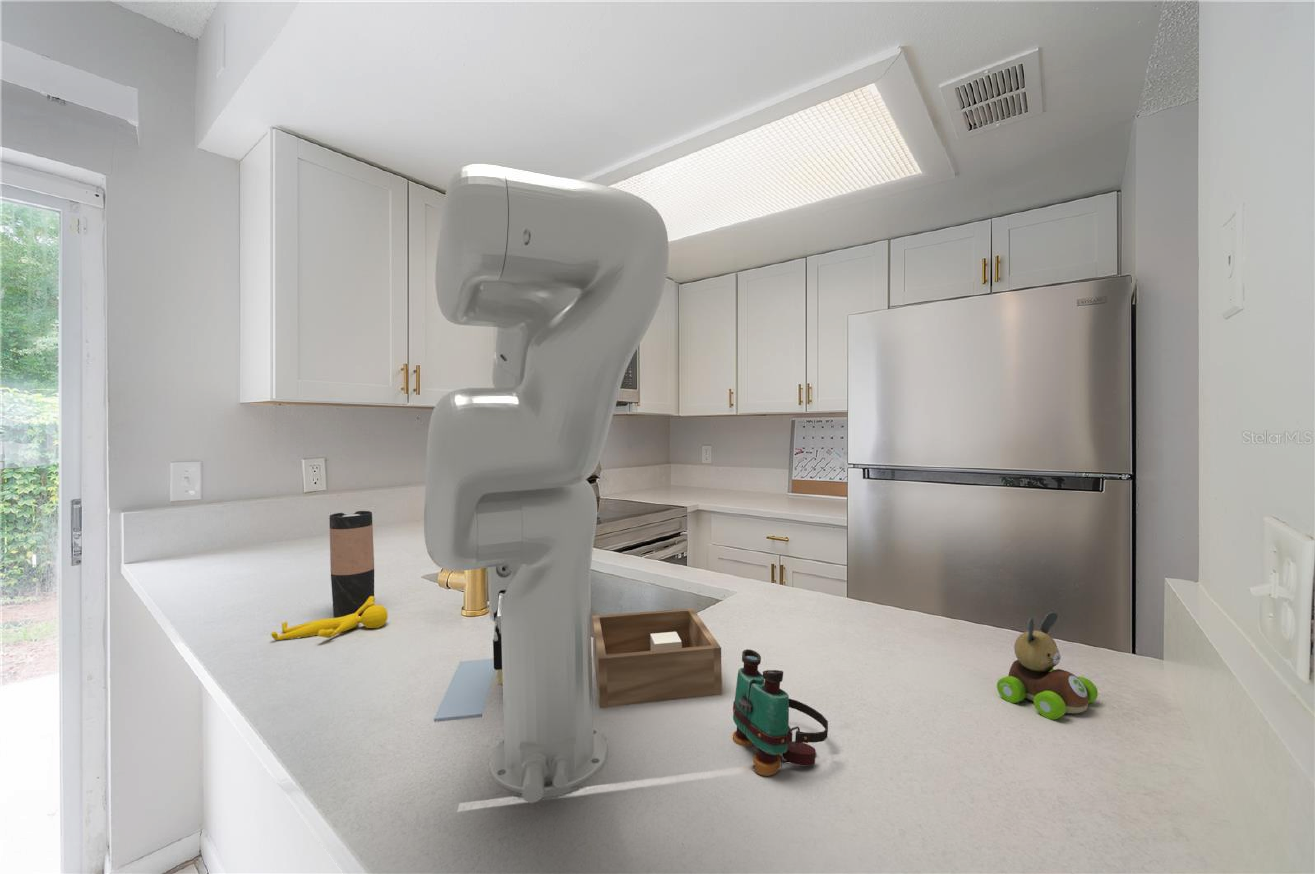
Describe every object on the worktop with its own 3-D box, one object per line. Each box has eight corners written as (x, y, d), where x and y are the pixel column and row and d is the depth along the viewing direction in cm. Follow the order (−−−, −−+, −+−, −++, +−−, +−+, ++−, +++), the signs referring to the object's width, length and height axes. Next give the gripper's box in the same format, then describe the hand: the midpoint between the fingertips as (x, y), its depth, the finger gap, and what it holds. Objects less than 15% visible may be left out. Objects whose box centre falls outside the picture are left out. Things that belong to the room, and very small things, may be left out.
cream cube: (682, 669, 80) (681, 641, 80) (655, 671, 79) (654, 644, 79) (676, 657, 84) (676, 631, 84) (650, 660, 83) (650, 633, 83)
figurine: (290, 609, 104) (392, 591, 109) (293, 633, 105) (395, 613, 109) (259, 636, 91) (377, 613, 96) (263, 662, 92) (380, 639, 96)
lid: (572, 712, 71) (570, 658, 71) (434, 726, 68) (432, 671, 68) (571, 657, 88) (569, 614, 88) (460, 667, 85) (459, 623, 85)
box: (722, 700, 72) (721, 647, 72) (600, 713, 70) (598, 658, 69) (693, 651, 88) (692, 608, 88) (593, 660, 85) (592, 616, 85)
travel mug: (356, 620, 106) (353, 517, 105) (322, 618, 107) (319, 516, 107) (384, 607, 113) (381, 510, 113) (351, 606, 115) (348, 510, 114)
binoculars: (845, 672, 58) (764, 679, 55) (838, 771, 58) (756, 785, 55) (796, 641, 67) (723, 646, 63) (789, 728, 67) (716, 738, 63)
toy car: (1065, 727, 65) (1064, 633, 64) (990, 695, 72) (989, 611, 72) (1105, 707, 69) (1104, 619, 69) (1030, 679, 77) (1029, 600, 76)
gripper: (530, 545, 70) (533, 678, 70) (536, 522, 87) (539, 629, 87) (468, 548, 69) (472, 684, 69) (487, 524, 86) (490, 633, 86)
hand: (509, 653), depth 78 cm, fingers open, 9 cm apart
